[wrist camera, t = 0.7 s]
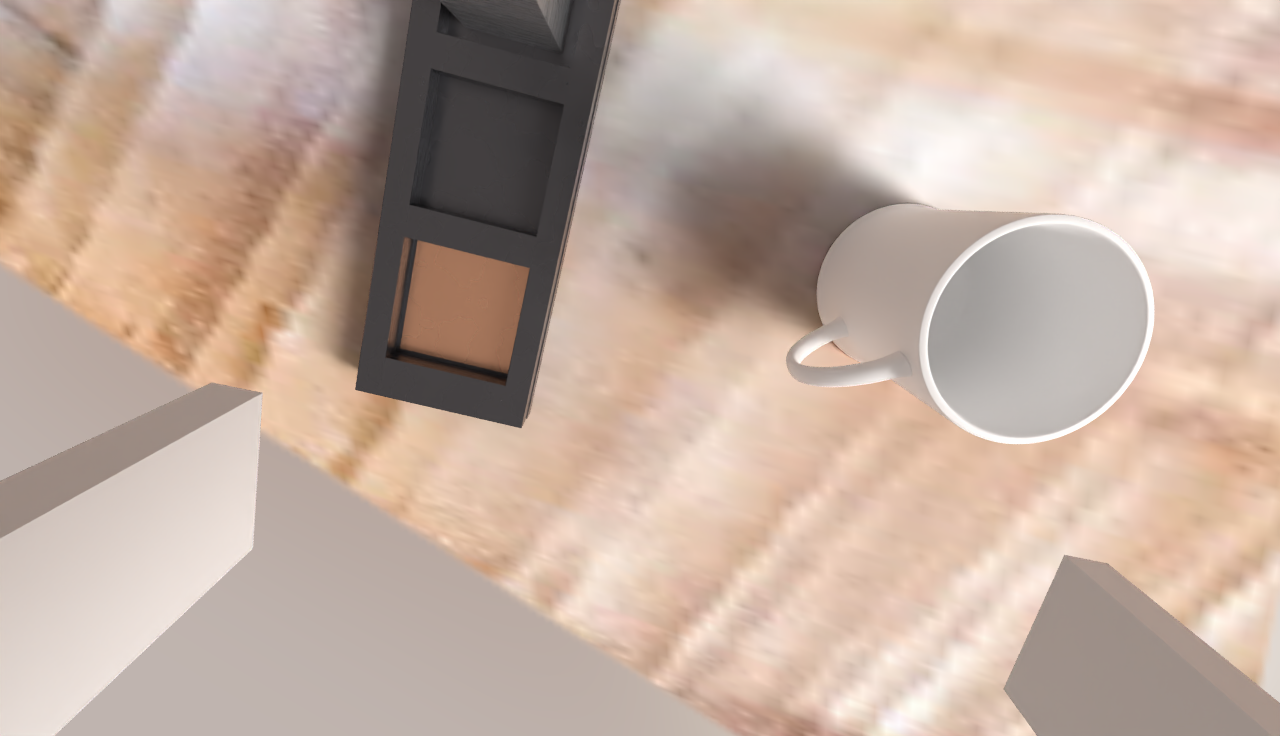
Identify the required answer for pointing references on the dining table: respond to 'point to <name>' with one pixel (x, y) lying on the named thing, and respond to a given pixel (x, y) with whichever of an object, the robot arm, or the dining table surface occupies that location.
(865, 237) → the mug
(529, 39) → the grey block with knob
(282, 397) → the dining table surface
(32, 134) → the dining table surface
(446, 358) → the tray with compartments
